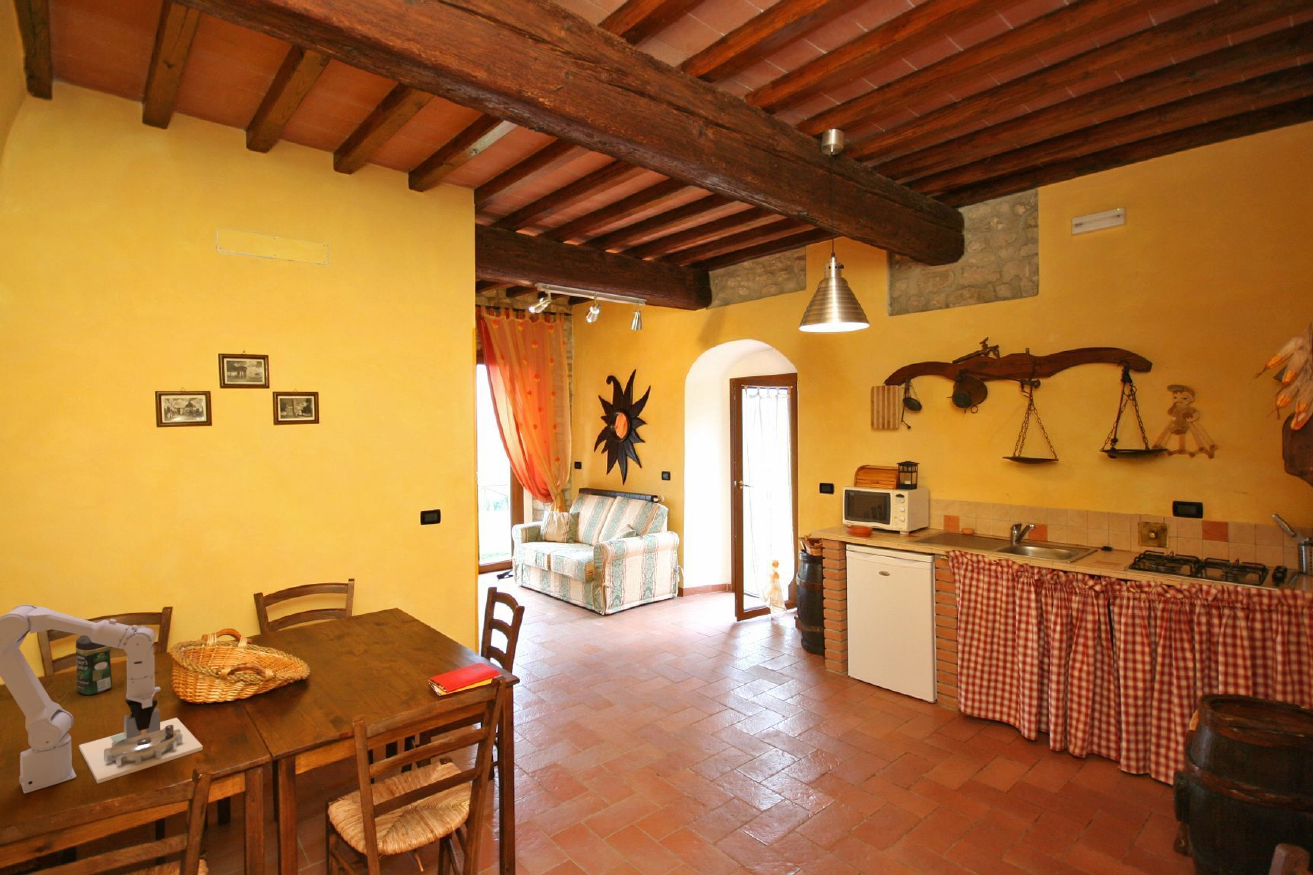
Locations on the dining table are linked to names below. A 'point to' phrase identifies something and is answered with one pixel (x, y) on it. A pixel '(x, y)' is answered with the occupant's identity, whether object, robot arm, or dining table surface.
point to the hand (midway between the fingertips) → (141, 726)
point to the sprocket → (143, 746)
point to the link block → (131, 726)
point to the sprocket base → (105, 772)
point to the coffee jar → (92, 666)
